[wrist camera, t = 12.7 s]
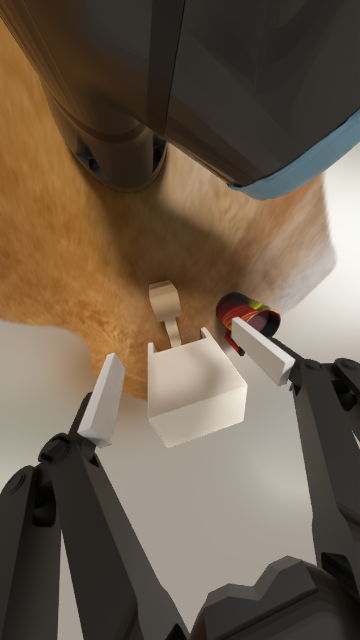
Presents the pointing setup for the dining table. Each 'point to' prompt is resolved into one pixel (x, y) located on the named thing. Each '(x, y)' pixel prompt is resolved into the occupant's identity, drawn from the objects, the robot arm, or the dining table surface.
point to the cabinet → (193, 390)
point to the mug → (246, 316)
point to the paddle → (166, 308)
